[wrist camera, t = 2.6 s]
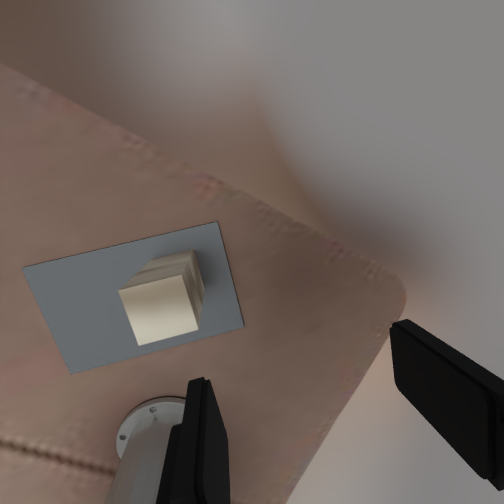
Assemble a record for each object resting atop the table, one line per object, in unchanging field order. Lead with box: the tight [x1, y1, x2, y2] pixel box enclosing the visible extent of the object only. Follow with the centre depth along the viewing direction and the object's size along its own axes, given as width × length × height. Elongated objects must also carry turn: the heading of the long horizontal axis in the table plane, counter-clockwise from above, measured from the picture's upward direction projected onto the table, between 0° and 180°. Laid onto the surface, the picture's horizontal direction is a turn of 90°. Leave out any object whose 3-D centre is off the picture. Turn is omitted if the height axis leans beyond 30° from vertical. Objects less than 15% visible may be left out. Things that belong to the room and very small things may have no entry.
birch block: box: [118, 249, 205, 346], centre depth 25 cm, size 5×5×10 cm
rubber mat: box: [22, 222, 244, 374], centre depth 30 cm, size 14×22×1 cm, turn 103°
